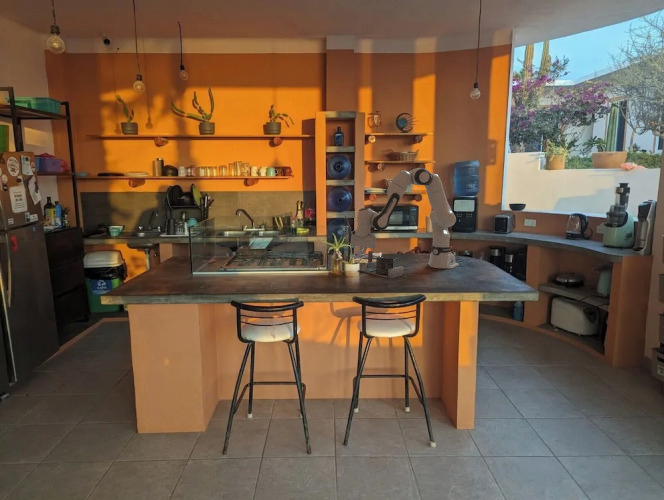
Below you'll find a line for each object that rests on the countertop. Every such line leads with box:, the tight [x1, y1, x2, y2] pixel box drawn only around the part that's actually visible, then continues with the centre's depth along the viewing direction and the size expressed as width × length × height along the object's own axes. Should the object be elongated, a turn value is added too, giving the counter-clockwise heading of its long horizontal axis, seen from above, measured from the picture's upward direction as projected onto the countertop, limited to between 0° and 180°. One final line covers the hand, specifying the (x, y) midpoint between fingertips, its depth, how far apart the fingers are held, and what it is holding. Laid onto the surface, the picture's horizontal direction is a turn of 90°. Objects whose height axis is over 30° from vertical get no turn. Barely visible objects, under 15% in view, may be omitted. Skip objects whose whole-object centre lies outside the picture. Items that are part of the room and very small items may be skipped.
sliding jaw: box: [364, 250, 377, 272], centre depth 290 cm, size 12×4×12 cm, turn 133°
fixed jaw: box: [359, 265, 405, 279], centre depth 285 cm, size 16×26×6 cm, turn 43°
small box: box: [375, 256, 394, 276], centre depth 282 cm, size 11×6×10 cm, turn 84°
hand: (363, 253), depth 295 cm, fingers closed
